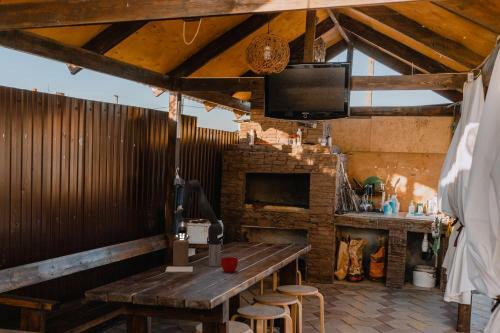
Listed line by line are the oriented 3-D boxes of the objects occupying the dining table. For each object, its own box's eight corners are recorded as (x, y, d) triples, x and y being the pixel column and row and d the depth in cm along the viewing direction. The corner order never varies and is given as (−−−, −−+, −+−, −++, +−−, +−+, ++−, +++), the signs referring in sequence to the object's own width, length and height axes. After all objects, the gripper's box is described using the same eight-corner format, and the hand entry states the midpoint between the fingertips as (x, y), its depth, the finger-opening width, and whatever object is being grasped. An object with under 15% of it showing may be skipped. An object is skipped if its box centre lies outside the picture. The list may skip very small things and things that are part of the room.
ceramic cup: (223, 274, 374) (224, 261, 374) (219, 270, 390) (219, 257, 390) (240, 274, 377) (241, 260, 377) (235, 270, 394) (235, 257, 394)
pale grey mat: (193, 267, 401) (193, 266, 401) (192, 272, 382) (192, 271, 382) (167, 267, 399) (167, 266, 399) (165, 272, 380) (165, 271, 380)
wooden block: (184, 267, 401) (185, 241, 402) (172, 266, 403) (173, 241, 404) (188, 264, 411) (189, 240, 411) (176, 264, 413) (177, 239, 413)
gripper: (174, 225, 425) (173, 242, 413) (190, 226, 427) (189, 242, 414) (174, 231, 431) (173, 248, 418) (190, 231, 432) (189, 248, 419)
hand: (181, 245), depth 416 cm, fingers closed
